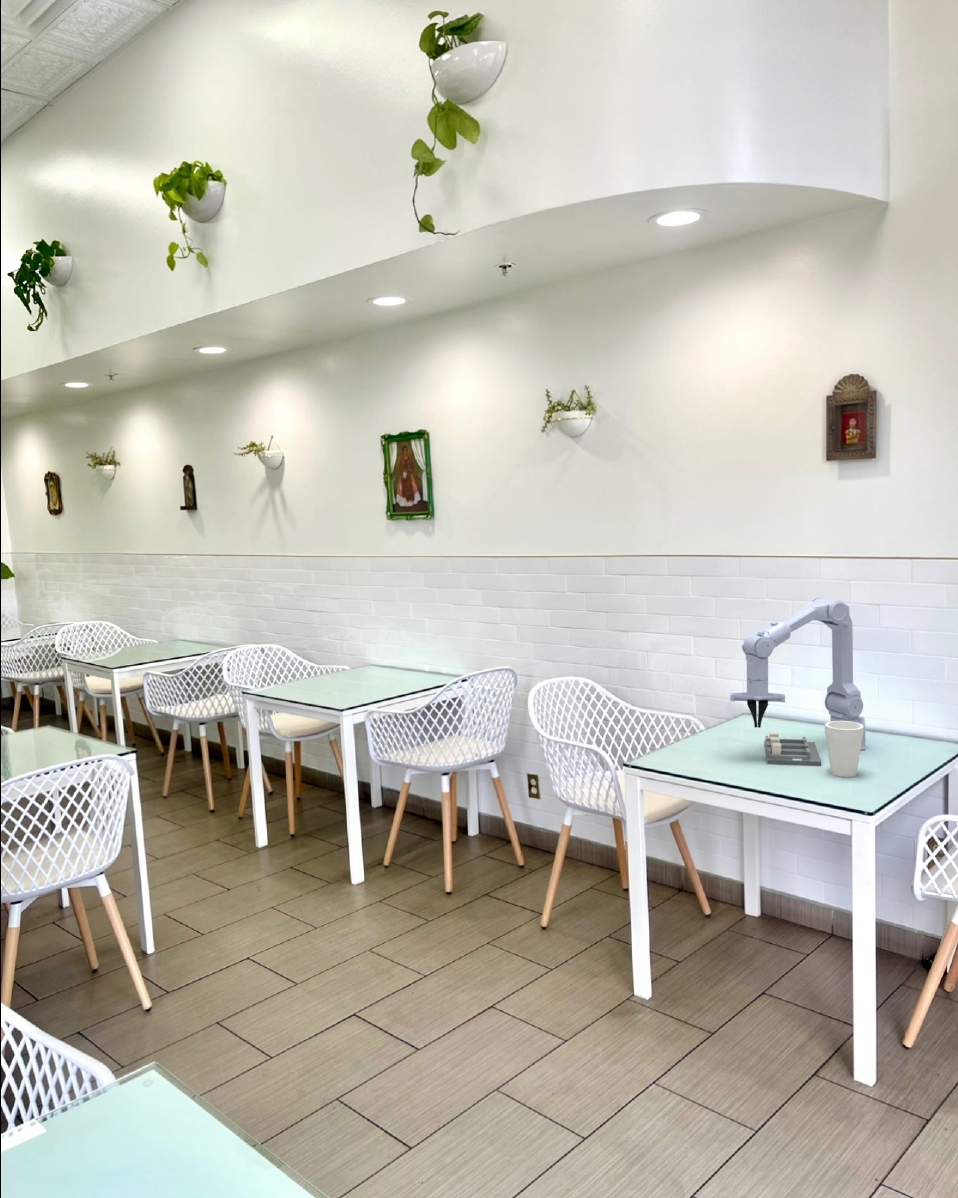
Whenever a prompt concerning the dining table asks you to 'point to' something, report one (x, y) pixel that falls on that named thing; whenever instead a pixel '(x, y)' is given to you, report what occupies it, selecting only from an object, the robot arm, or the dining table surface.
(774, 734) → the tab
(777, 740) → the tab
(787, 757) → the switch bank
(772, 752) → the tab
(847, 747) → the foam cup
